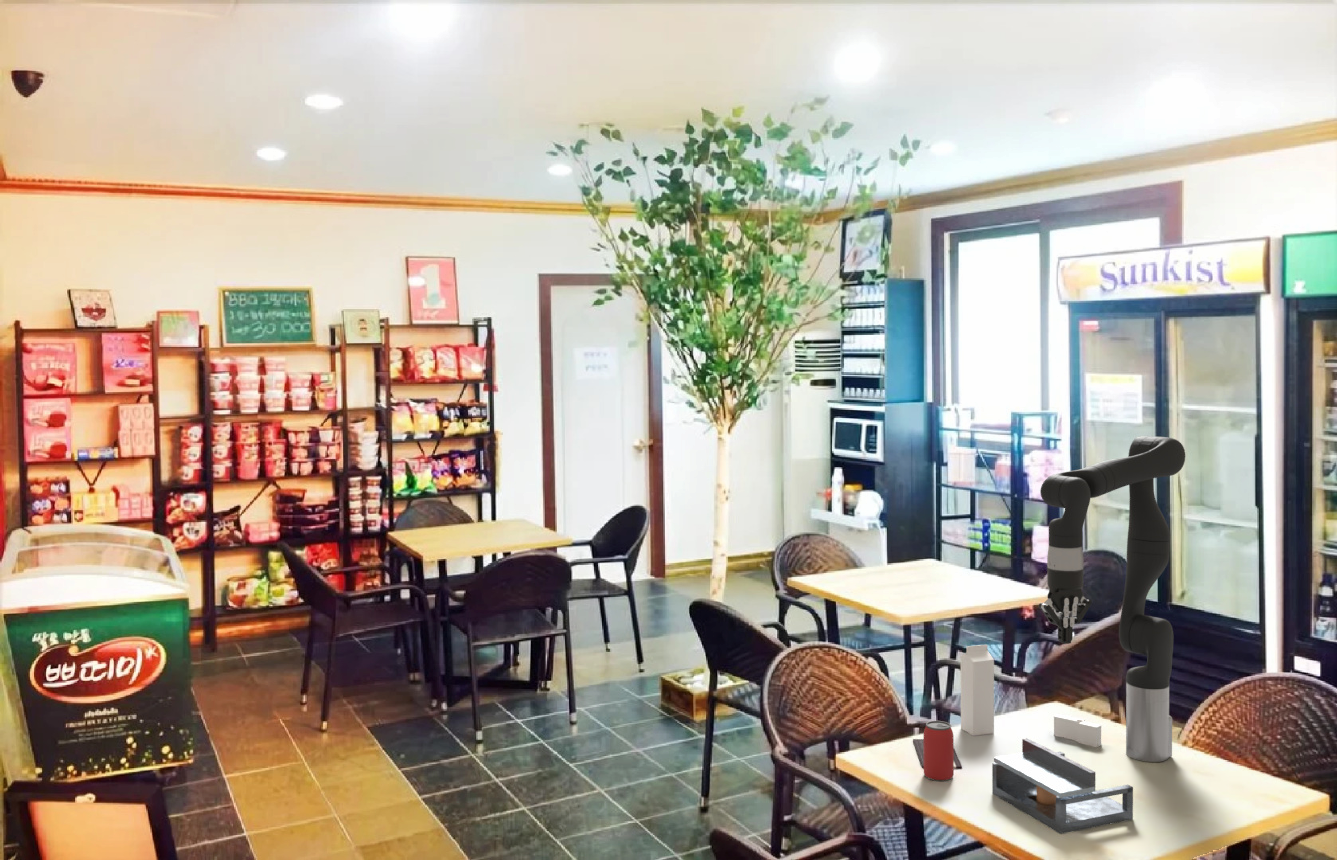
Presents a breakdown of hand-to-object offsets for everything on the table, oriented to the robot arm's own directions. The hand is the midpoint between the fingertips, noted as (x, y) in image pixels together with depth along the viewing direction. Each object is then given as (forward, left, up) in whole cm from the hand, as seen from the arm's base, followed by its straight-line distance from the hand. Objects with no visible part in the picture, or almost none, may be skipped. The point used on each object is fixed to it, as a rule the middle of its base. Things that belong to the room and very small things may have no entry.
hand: (1065, 643), depth 246 cm
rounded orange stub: (+15, +12, -31) cm, 36 cm away
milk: (-1, -34, -31) cm, 46 cm away
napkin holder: (-19, -18, -32) cm, 41 cm away
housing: (+11, +12, -31) cm, 35 cm away
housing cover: (+16, +12, -24) cm, 31 cm away
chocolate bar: (+18, -24, -32) cm, 43 cm away
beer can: (+25, -12, -31) cm, 42 cm away
